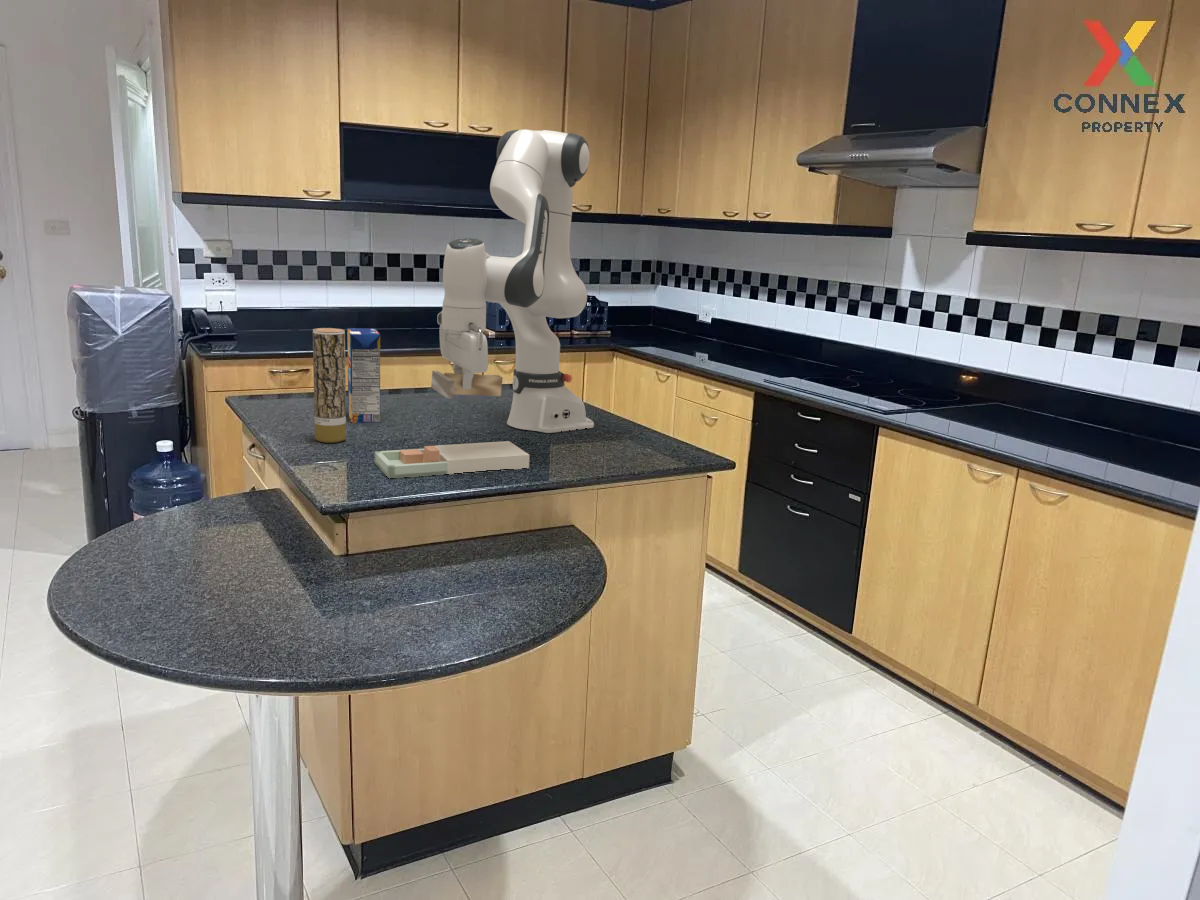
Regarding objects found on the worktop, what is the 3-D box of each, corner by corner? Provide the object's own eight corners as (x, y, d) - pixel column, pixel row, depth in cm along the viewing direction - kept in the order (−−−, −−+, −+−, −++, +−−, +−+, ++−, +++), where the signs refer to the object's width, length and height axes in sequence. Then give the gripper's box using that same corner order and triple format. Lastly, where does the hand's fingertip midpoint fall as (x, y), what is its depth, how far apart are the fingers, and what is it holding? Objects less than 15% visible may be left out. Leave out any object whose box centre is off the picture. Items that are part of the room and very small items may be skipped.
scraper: (489, 389, 194) (491, 371, 193) (508, 400, 185) (510, 381, 184) (431, 387, 188) (432, 368, 187) (447, 398, 179) (448, 378, 178)
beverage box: (351, 423, 218) (350, 334, 213) (348, 413, 228) (347, 328, 223) (380, 423, 221) (380, 334, 215) (375, 413, 231) (375, 328, 225)
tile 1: (399, 450, 187) (399, 459, 187) (404, 455, 183) (404, 464, 184) (418, 449, 188) (418, 458, 189) (423, 453, 185) (423, 463, 185)
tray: (430, 459, 192) (430, 448, 191) (447, 474, 181) (447, 462, 181) (374, 463, 186) (374, 451, 186) (388, 479, 176) (388, 466, 175)
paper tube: (337, 445, 198) (335, 333, 192) (309, 441, 199) (306, 330, 193) (351, 438, 204) (350, 329, 198) (324, 435, 206) (322, 327, 199)
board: (508, 454, 200) (508, 441, 199) (528, 468, 190) (529, 454, 189) (430, 459, 192) (430, 445, 191) (447, 474, 181) (447, 460, 181)
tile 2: (433, 445, 184) (424, 446, 183) (439, 450, 181) (429, 451, 180) (433, 464, 185) (424, 464, 184) (439, 469, 182) (429, 470, 181)
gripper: (496, 327, 174) (495, 396, 178) (463, 314, 192) (462, 377, 195) (466, 327, 172) (464, 397, 175) (434, 314, 189) (434, 378, 193)
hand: (463, 386), depth 185 cm, fingers closed on scraper, 2 cm apart
